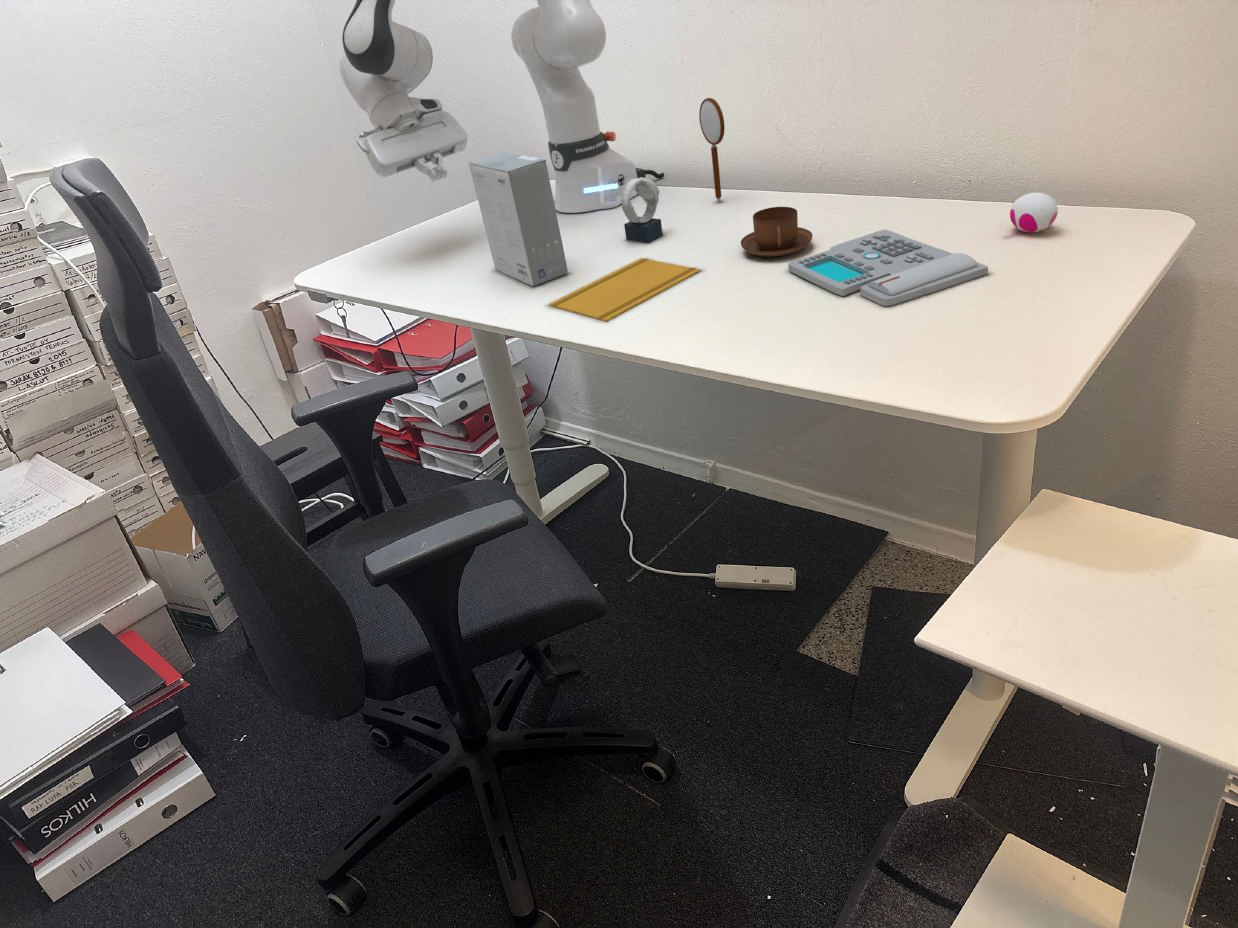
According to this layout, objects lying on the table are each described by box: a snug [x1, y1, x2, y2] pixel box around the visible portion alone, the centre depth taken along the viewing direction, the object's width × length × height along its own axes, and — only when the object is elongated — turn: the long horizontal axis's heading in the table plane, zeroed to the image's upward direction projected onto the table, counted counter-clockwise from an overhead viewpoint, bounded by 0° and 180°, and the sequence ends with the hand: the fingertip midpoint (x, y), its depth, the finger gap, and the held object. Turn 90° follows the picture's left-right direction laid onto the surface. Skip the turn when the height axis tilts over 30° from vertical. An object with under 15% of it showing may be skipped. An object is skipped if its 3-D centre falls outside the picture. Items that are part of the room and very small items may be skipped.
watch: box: [621, 178, 664, 244], centre depth 154 cm, size 6×8×11 cm
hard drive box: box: [468, 152, 569, 287], centre depth 145 cm, size 16×8×20 cm, turn 34°
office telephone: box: [787, 228, 989, 307], centre depth 124 cm, size 23×3×20 cm
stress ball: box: [1009, 191, 1059, 236], centre depth 128 cm, size 8×8×7 cm
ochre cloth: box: [548, 257, 701, 322], centre depth 136 cm, size 22×14×1 cm, turn 134°
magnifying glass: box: [698, 97, 725, 203], centre depth 163 cm, size 9×2×20 cm, turn 23°
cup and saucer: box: [740, 206, 813, 257], centre depth 138 cm, size 12×12×6 cm
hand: (440, 177), depth 157 cm, fingers closed
